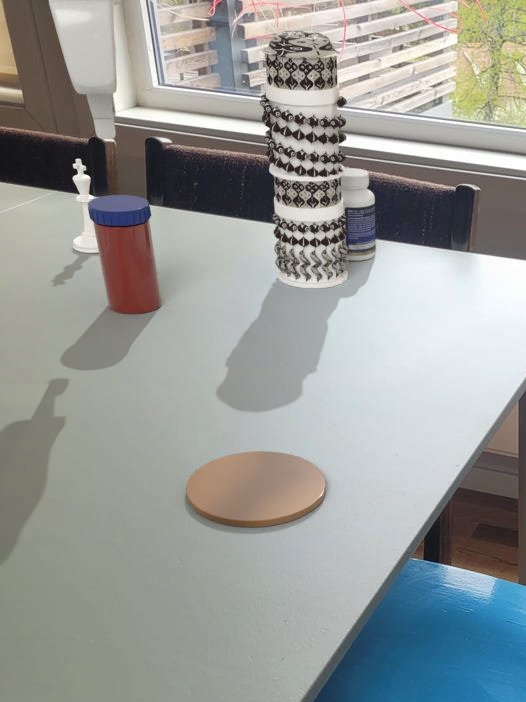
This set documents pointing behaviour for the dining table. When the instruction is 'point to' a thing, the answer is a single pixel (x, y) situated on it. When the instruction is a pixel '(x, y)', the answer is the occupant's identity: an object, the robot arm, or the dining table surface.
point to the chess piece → (84, 212)
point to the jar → (128, 267)
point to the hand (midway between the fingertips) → (107, 127)
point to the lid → (119, 210)
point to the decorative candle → (305, 158)
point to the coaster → (256, 489)
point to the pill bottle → (358, 214)
